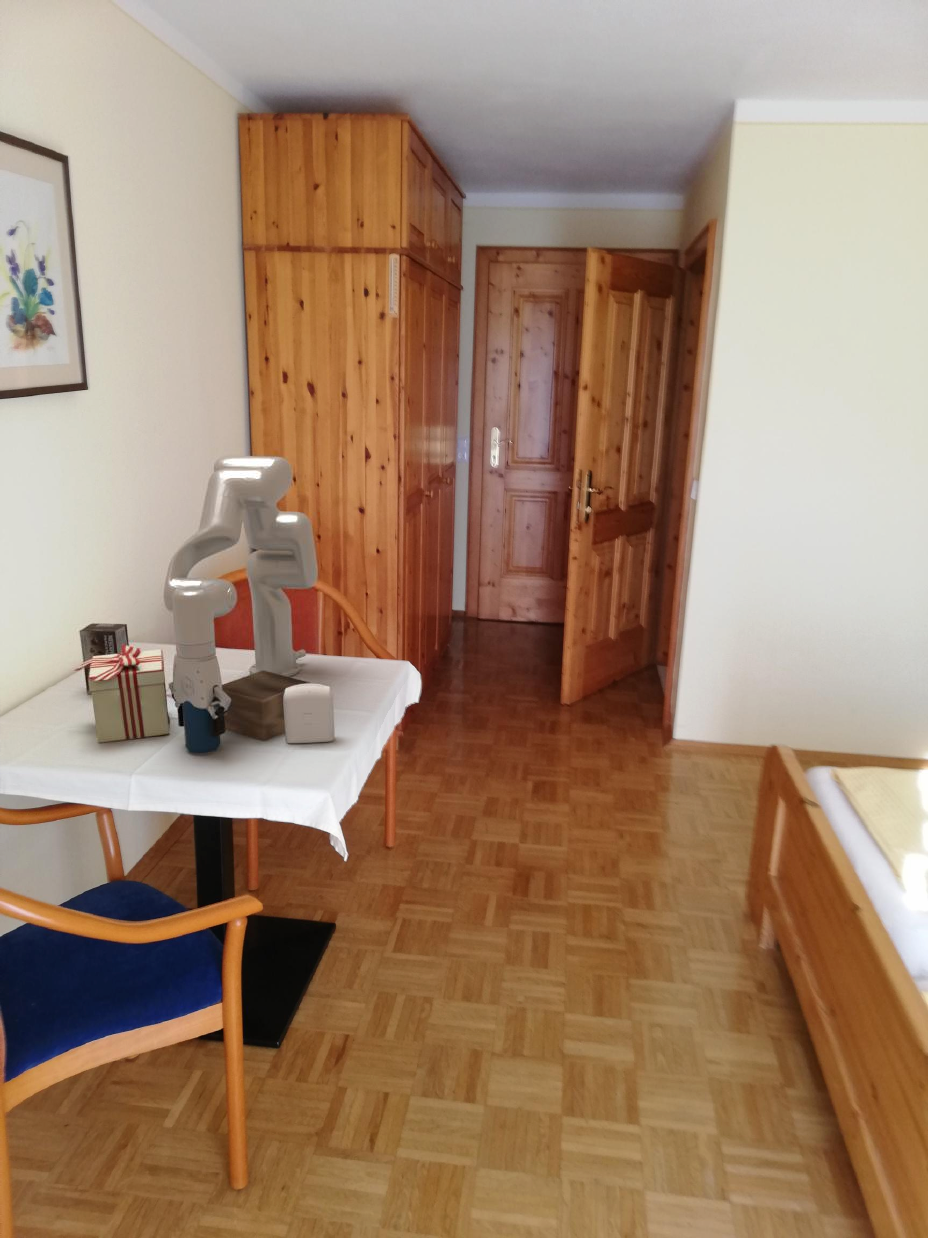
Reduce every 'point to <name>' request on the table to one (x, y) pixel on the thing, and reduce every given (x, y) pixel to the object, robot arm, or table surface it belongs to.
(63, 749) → the table surface
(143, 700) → the gift box
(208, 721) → the soda can
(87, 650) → the coffee box
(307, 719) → the photo printer
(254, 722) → the walnut box
